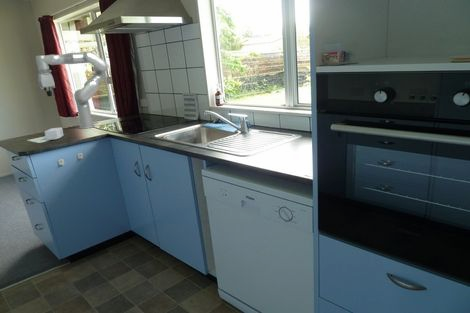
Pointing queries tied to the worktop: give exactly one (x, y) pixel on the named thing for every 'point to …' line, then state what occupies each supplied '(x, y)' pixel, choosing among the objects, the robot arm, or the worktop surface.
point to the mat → (39, 139)
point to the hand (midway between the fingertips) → (49, 96)
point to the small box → (53, 133)
